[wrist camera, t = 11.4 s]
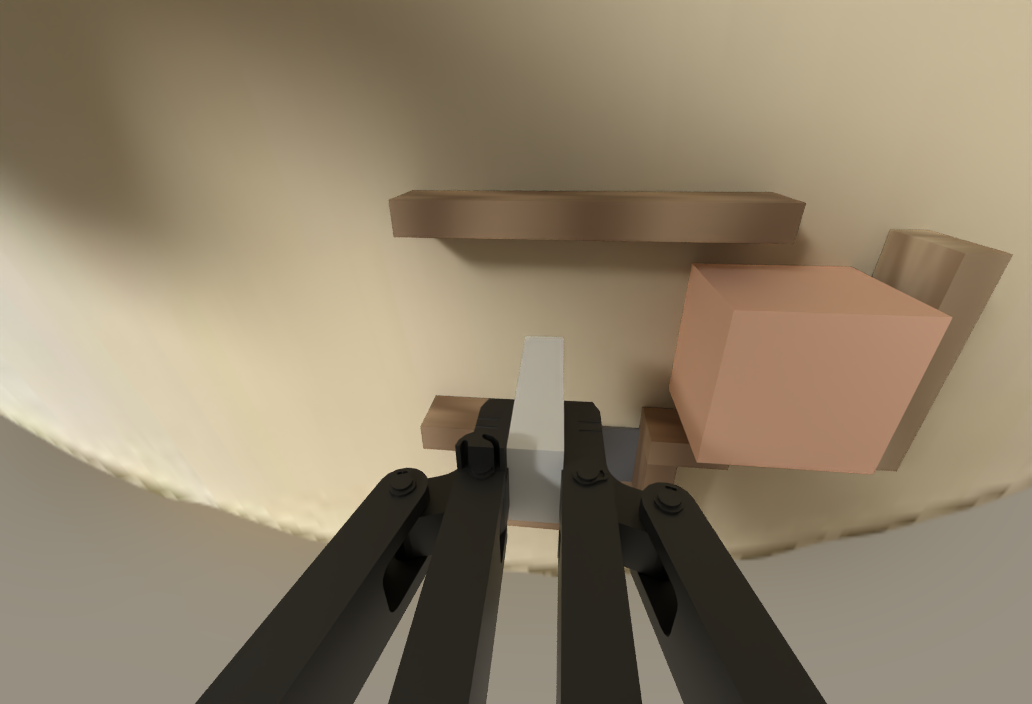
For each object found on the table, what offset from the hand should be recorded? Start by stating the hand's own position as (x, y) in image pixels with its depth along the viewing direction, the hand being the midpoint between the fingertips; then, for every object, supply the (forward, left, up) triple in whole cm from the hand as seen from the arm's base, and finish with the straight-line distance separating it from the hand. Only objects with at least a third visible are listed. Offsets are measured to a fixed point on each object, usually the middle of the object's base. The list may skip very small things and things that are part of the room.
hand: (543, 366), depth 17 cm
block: (+10, -1, -6) cm, 12 cm away
